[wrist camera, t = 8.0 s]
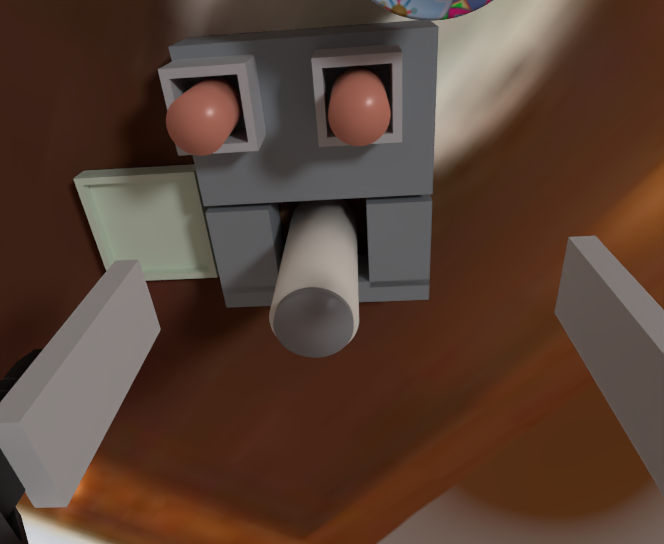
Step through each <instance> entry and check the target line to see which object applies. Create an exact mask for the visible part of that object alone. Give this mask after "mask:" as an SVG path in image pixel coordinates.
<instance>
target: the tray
mask: <svg viewBox="0 0 664 544" xmlns="http://www.w3.org/2000/svg"><path fill="white" fill-rule="evenodd" d="M74 182H75V185H76V188H77V191H78V193H79V196H80V199H81V202H82V205H83V207H84V210H85V213H86V216H87V219H88V221H89V224H90V227H91V230H92V233H93V235H94V238H95V241H96V244H97V246H98V249H99V252H100V255H101V258H102V260H103V263H104V266H105V269H106V271H107V270H108V269H109V268H110V266H111V265H112V264H113V263H114V261H117V260H137V259H139V262H140V265H141V268H142V271H143V274H144V278H145V281H149V280H171V279H194V278H217V277H218V275H219V272H218V268H217V263H216V259H215V254H214V250H213V245H212V241H211V236H210V232H209V227H208V223H207V218H206V214H205V213H206V211H207V210H208V208H209V206H204V204H203V200H202V195H201V191H200V186H199V182H198V177H197V173H196V168H195V164H191V165H174V166H157V167H140V168H123V169H106V170H90V171H83V172H82V173H80V174H79V175H78V176H76V177H75V178H74Z"/></svg>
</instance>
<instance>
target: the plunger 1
mask: <svg viewBox="0 0 664 544" xmlns="http://www.w3.org/2000/svg"><path fill="white" fill-rule="evenodd" d="M242 114H243V107H242V101H241V94H240V92H239V90H238V89H237V88H236V86H235V85H234V84H233V83H231V82H230V81H228V80H227V79H224V78H222V77H217V76H210V77H206V78H204V79H202V80H200V81H199V82H198V83H196V84H195V85H194V86H192V87H191V88H190V89H189V90H187V91H186V92H185V93H184V94H182V95H181V96H180V97H178V98H177V99H176V100H175V101H174V102H173V103H172V104H171V105H170V107H169V109H168V111H167V115H166V126H167V130H168V133H169V135H170V137H171V139H172V140H173V142H174V143H175V144H176V145H177V146H178V147H179V148H180V149H182V150H183V151H185V152H187V153H190V154H193V155H198V156H204V155H209V154H212V153H214V152H216V151H217V150H218V149H219V148H220V147H221V146H222V145H223V143H224V142H225V141H226V139H227V138H228V136H229V135H230V133H231V132H232V131H233V129H234V128H235V126H236V125H237V123H238V122H239V121H240V119H241V117H242Z"/></svg>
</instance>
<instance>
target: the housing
mask: <svg viewBox="0 0 664 544" xmlns="http://www.w3.org/2000/svg"><path fill="white" fill-rule="evenodd" d="M437 50H438V26H437V25H435V24H434V23H433V22H431V21H430V20H416V21H403V22H389V23H376V24H363V25H350V26H336V27H323V28H310V29H297V30H284V31H270V32H257V33H244V34H231V35H217V36H204V37H191V38H186V39H184V40H182V41H180V42H178V43H176V44H173V45H171V46H169V51H170V56H171V60H172V62H170V63H168V64H167V65H165V66H163V67H161V68H159V69H158V73H159V77H160V81H161V85H162V90H163V94H164V98H165V102H166V107H167V111H168V109H169V107H170V105H171V104H172V103H173V102H174V101H175V100H176V99H177V98H178V97H180V96H181V95H182V94H184V93H185V92H186V91H187V90H189V89H190V88H191V87H192V86H194V85H195V84H196V83H198V82H199V81H200V80H202V79H204V78H206V77H210V76H217V77H222V78H224V79H227V80H228V81H230V82H231V83H233V84H234V85H235V86H236V88H237V89H238V90H239V92H240V94H241V101H242V107H243V114H242V117H241V119H240V121H239V122H238V123H237V125H236V126H235V128H234V129H233V131H232V132H231V133H230V135H229V136H228V138H227V139H226V141H225V142H224V143H223V145H222V146H221V147H220V148H219V149H218V150H217V151H216V152H214V153H212V154H209V155H204V156H198V155H193V154H190V153H187V152H185V151H183V150H182V149H180V148H179V147H178V146H177V145H176V149H177V153H178V156H181V155H193V159H194V164H195V168H196V173H197V177H198V182H199V186H200V191H201V195H202V200H203V204H204V206H209V208H208V210H207V211H206V213H205V214H206V218H207V223H208V227H209V232H210V236H211V241H212V245H213V250H214V254H215V259H216V263H217V268H218V272H219V277H220V281H221V286H222V290H223V295H224V299H225V304H226V308H227V307H252V306H271V304H272V300H273V296H274V291H275V287H276V283H277V278H278V274H279V270H280V265H281V261H282V257H283V253H284V242H283V234H282V227H281V220H280V213H279V205H278V202H292V201H311V200H330V199H349V198H366V218H367V243H368V254H361V255H358V298H359V302H377V301H402V300H427V299H429V277H430V249H431V220H432V199H431V196H430V194H432V192H433V164H434V135H435V107H436V79H437ZM354 66H364V67H367V68H370V69H372V70H373V71H375V72H376V73H377V74H378V75H379V76H380V78H381V80H382V82H383V84H384V87H385V91H386V95H387V98H388V102H389V106H390V113H391V115H390V122H389V125H388V128H387V130H386V131H385V133H384V134H383V135H382V136H381V137H380V138H379V139H378V140H377V141H375V142H373V143H371V144H369V145H365V146H352V145H349V144H346V143H344V142H342V141H341V140H340V139H338V138H337V137H336V135H335V134H334V133H333V131H332V129H331V127H330V124H329V119H328V111H329V104H330V97H331V91H332V86H333V83H334V81H335V79H336V78H337V77H338V75H339V74H340V73H341V72H343V71H344V70H346V69H348V68H350V67H354Z"/></svg>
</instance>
